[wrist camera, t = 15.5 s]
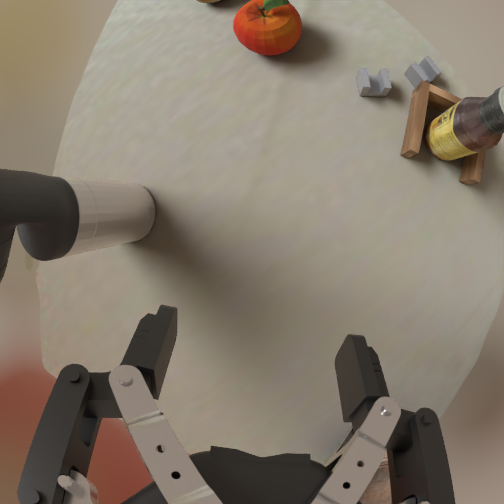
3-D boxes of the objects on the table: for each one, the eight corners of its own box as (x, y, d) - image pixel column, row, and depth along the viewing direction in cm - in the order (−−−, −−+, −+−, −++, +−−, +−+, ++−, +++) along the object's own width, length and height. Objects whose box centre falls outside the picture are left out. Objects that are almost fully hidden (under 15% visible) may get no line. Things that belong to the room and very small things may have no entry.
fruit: (235, 26, 38) (218, -9, 28) (293, 13, 36) (287, -26, 26) (248, 71, 39) (231, 38, 29) (310, 57, 37) (309, 21, 27)
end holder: (400, 155, 36) (410, 149, 32) (412, 91, 34) (422, 80, 30) (465, 184, 35) (480, 182, 31) (475, 121, 33) (488, 114, 29)
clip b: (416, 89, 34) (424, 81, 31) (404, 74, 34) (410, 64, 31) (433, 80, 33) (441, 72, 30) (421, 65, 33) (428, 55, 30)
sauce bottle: (445, 116, 34) (518, 68, 15) (464, 154, 34) (547, 127, 15) (413, 129, 35) (480, 78, 16) (432, 169, 36) (513, 145, 16)
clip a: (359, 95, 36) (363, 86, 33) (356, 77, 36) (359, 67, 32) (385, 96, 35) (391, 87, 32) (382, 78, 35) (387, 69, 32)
